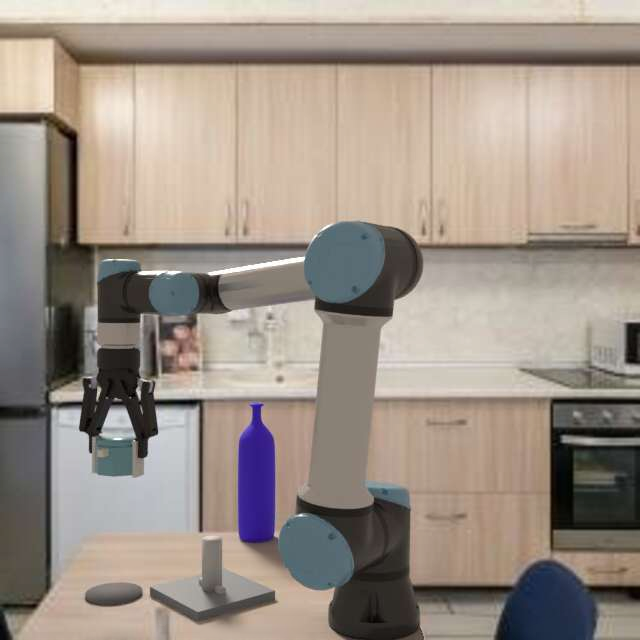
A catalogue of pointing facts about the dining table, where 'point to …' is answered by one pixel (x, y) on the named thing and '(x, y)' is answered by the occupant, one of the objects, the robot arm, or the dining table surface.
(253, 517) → the bottle
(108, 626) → the dining table surface
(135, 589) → the mat
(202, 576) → the stand
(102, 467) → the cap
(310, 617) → the dining table surface
